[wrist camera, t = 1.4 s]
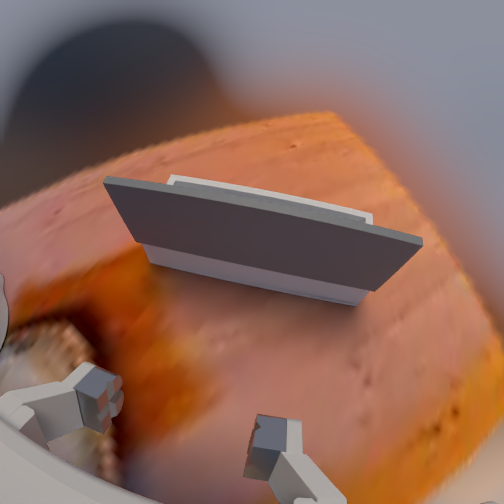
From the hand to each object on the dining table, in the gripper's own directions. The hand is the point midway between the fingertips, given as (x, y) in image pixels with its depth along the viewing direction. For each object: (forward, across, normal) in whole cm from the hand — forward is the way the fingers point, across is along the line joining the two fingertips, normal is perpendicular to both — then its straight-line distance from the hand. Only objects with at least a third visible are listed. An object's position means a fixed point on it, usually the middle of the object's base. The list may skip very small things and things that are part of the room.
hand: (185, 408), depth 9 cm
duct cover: (+20, 0, -3) cm, 21 cm away
